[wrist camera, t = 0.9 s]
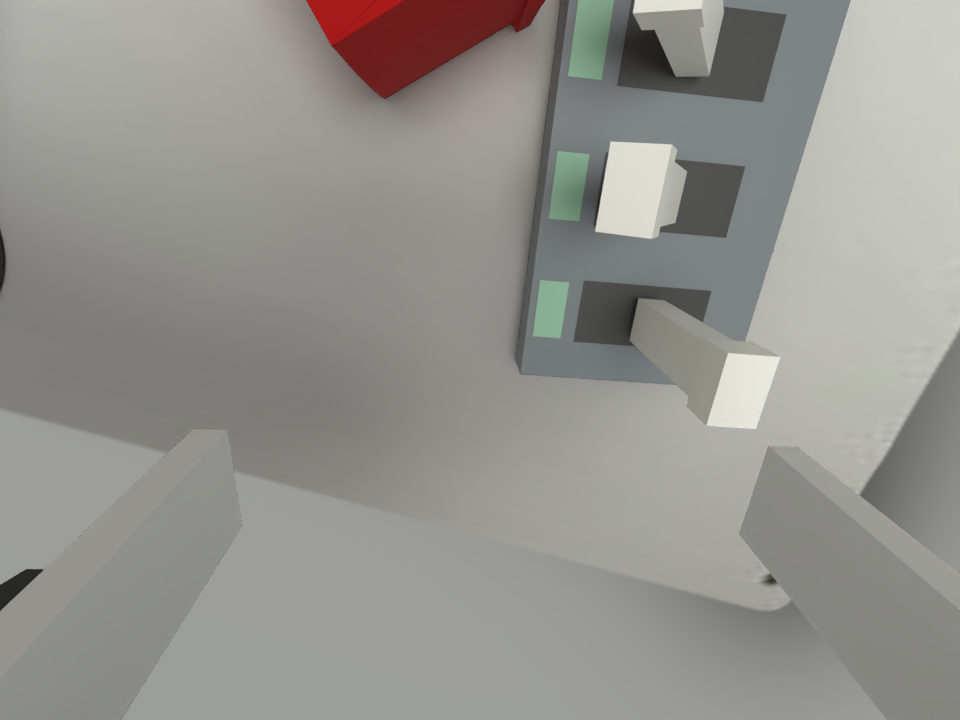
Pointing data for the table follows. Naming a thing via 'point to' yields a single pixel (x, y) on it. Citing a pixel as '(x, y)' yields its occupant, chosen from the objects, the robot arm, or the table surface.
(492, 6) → the fire alarm
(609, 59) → the breaker panel
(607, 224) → the handle
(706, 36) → the handle
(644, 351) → the handle
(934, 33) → the table surface
